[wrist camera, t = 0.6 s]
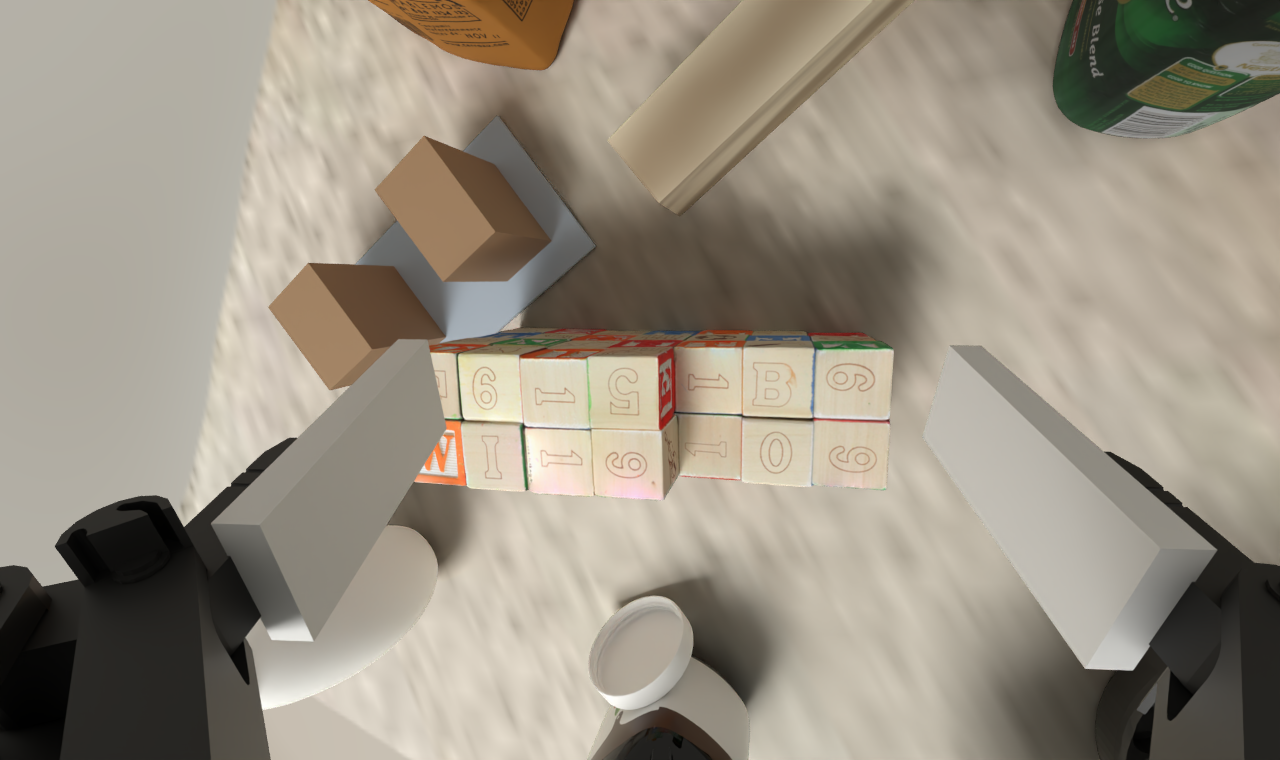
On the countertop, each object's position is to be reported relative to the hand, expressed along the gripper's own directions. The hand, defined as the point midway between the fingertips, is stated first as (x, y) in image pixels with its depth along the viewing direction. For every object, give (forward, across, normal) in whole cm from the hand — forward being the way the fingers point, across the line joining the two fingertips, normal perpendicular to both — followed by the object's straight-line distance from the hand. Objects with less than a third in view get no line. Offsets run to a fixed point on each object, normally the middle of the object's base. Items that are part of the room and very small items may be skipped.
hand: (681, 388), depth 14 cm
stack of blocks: (+18, 0, +9) cm, 20 cm away
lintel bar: (+22, -6, -7) cm, 24 cm away
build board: (+22, +15, +4) cm, 27 cm away
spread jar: (+11, 0, +29) cm, 31 cm away
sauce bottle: (+17, +19, +24) cm, 35 cm away
